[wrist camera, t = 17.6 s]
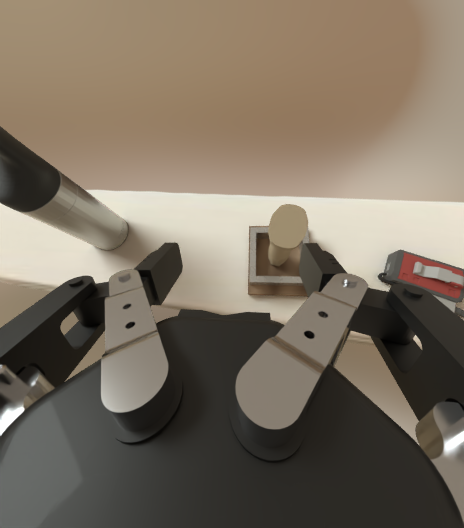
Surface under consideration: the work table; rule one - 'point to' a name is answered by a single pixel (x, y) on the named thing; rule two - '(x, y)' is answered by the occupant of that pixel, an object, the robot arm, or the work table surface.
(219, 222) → the work table surface
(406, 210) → the work table surface
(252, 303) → the work table surface
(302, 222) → the handle
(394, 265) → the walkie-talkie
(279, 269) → the board
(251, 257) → the collar
